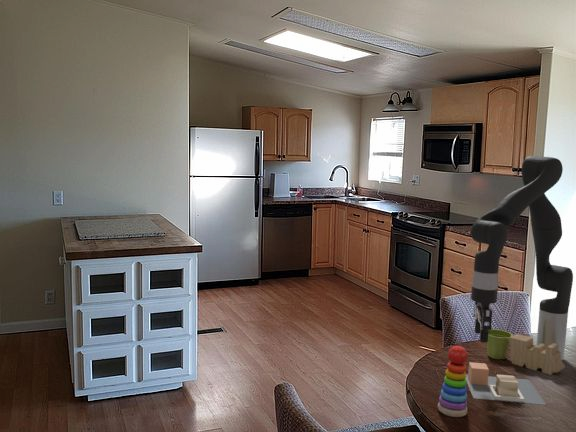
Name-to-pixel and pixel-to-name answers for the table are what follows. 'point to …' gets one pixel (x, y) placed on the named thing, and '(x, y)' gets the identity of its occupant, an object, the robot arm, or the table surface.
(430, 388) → the table surface
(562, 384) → the table surface
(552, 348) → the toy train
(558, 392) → the table surface
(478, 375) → the terracotta block
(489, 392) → the board
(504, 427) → the table surface
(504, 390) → the maple block
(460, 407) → the stacking toy
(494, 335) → the plant pot
